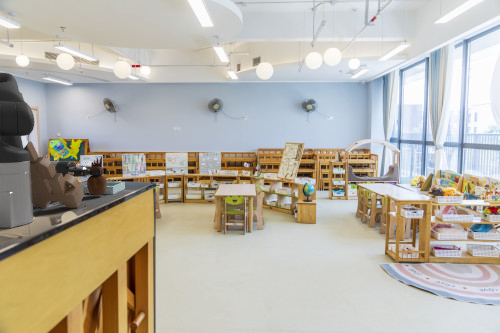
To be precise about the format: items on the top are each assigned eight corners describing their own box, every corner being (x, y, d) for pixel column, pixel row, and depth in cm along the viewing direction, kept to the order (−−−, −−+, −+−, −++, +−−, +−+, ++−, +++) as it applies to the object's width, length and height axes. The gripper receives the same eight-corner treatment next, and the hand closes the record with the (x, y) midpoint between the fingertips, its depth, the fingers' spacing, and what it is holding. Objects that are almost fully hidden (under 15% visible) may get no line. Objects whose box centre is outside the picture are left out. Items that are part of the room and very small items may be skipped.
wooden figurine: (109, 193, 125) (108, 156, 123) (101, 196, 119) (100, 157, 118) (93, 192, 126) (92, 155, 124) (84, 195, 120) (83, 156, 118)
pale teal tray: (113, 194, 128) (113, 186, 127) (83, 193, 128) (83, 186, 127) (124, 188, 140) (124, 182, 139) (98, 188, 140) (97, 181, 139)
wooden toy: (85, 194, 110) (62, 134, 94) (78, 208, 104) (51, 147, 89) (40, 193, 109) (8, 133, 93) (30, 208, 104) (-6, 146, 88)
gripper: (47, 162, 114) (94, 163, 114) (70, 159, 128) (111, 160, 128) (48, 183, 115) (95, 184, 115) (70, 177, 129) (112, 178, 129)
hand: (103, 171), depth 121 cm, fingers closed on wooden figurine, 4 cm apart
